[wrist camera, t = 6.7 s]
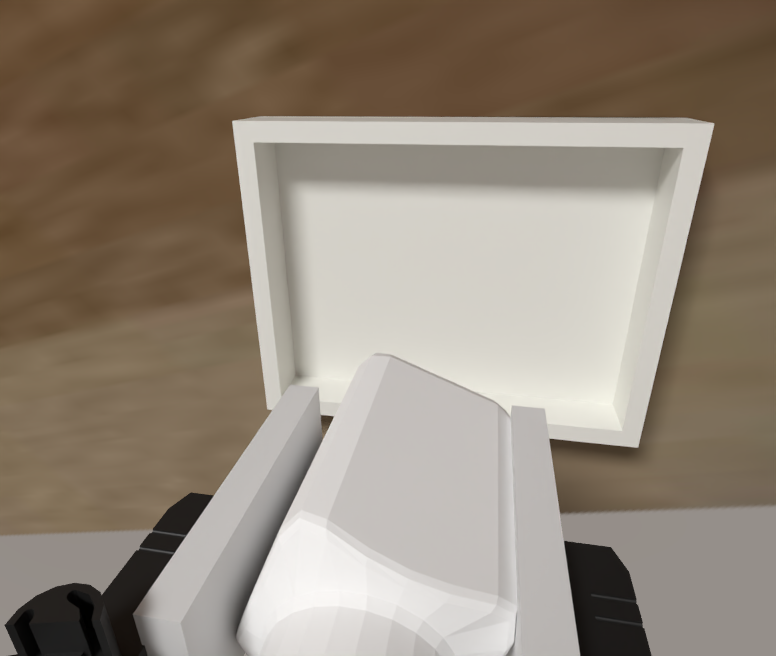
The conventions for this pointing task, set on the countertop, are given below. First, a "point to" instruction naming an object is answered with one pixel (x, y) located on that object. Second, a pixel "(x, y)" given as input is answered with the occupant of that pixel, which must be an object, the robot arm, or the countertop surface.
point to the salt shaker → (396, 529)
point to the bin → (472, 255)
